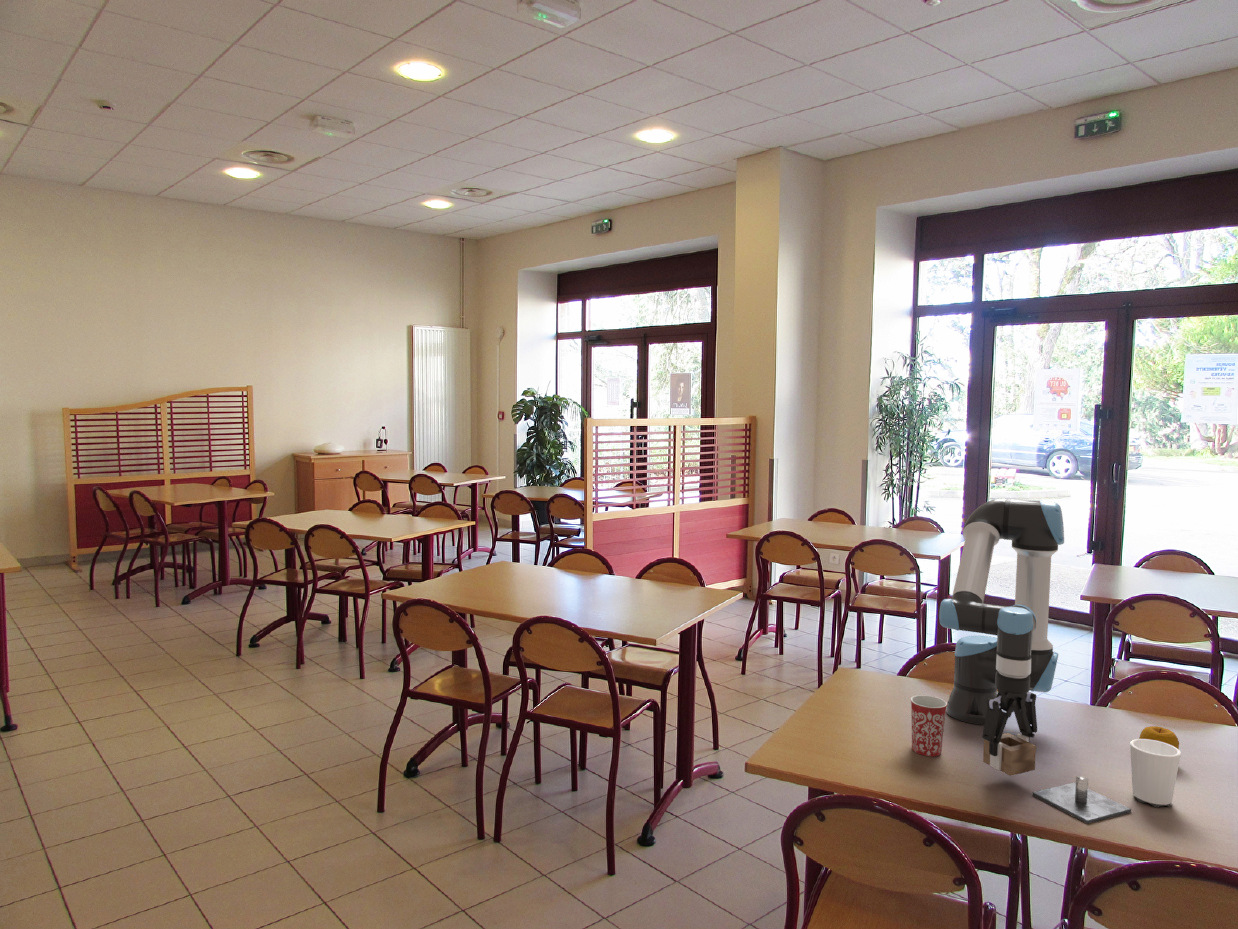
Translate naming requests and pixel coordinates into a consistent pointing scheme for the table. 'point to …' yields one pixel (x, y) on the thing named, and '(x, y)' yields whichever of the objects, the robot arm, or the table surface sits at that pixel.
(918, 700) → the mug
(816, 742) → the table surface
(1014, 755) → the collar
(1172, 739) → the apple
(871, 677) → the table surface
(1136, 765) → the cup
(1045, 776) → the table surface
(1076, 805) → the peg base
